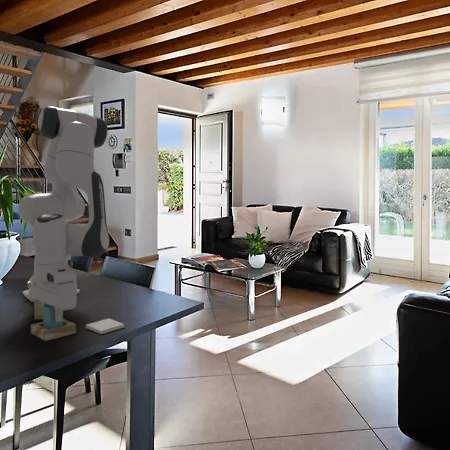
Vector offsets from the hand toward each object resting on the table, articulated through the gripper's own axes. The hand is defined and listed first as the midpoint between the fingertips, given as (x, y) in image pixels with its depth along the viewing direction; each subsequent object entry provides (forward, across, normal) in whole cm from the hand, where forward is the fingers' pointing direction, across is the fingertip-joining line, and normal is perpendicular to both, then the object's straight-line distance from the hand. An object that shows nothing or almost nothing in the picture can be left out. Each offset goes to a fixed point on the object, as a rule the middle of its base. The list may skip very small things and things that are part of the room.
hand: (53, 319), depth 124 cm
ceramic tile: (+4, +7, +12) cm, 15 cm away
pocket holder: (+4, 0, 0) cm, 4 cm away
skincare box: (+4, -16, +6) cm, 17 cm away
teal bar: (+4, 0, 0) cm, 4 cm away
